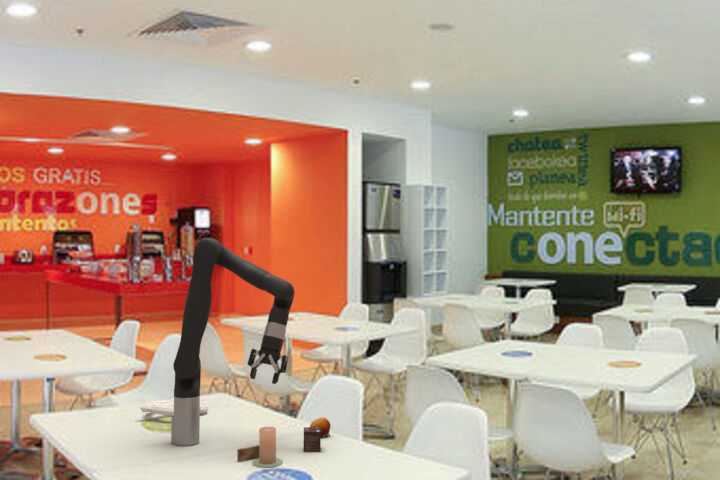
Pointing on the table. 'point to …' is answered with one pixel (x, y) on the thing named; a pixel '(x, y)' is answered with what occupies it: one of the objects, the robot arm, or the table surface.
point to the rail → (247, 453)
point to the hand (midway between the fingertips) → (263, 381)
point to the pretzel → (166, 407)
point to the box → (312, 439)
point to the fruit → (322, 426)
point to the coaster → (257, 464)
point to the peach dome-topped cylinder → (267, 445)
